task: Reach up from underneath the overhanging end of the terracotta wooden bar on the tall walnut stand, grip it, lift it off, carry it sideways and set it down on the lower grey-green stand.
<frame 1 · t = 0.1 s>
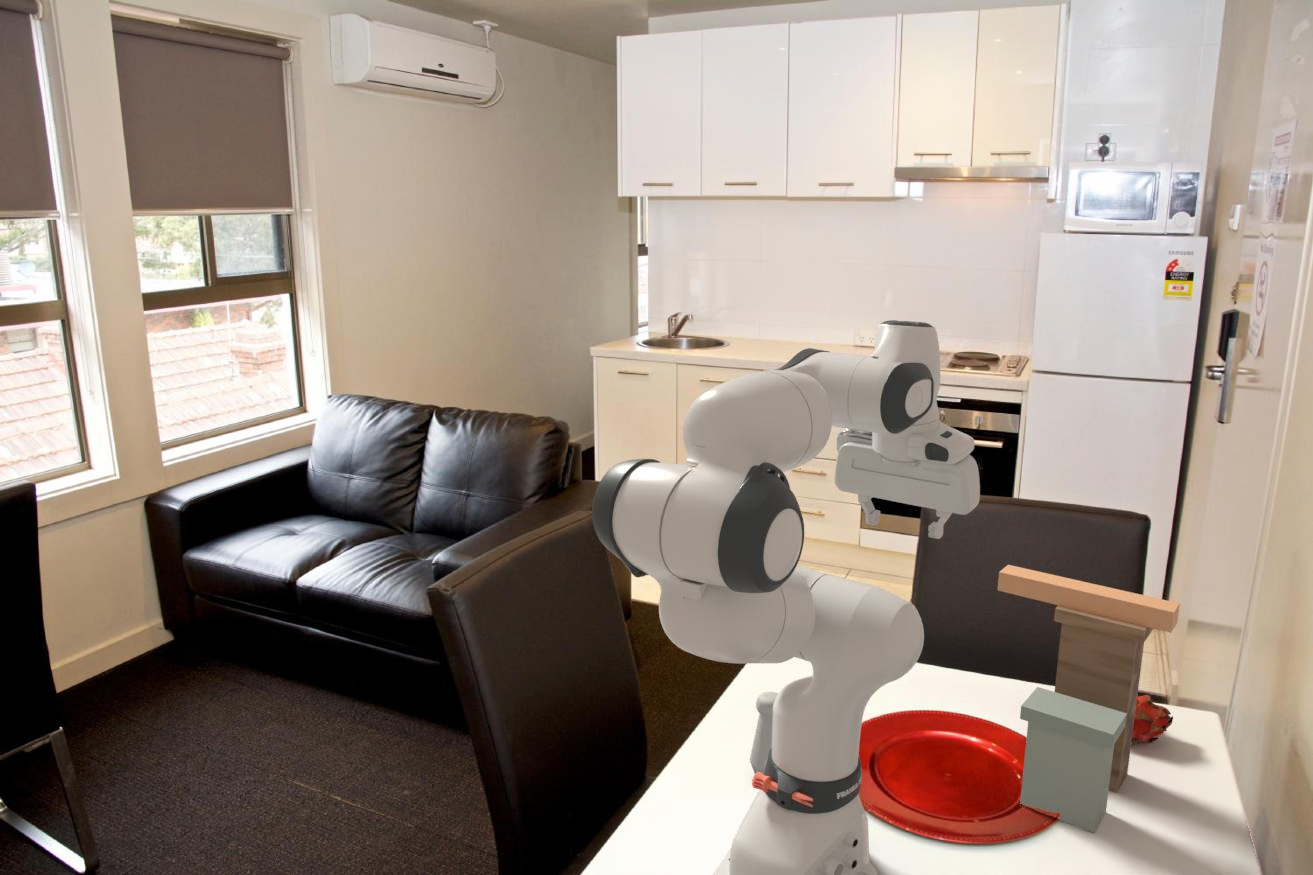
hand: (903, 529, 134), 39 cm above the table, tool pointing down, fingers open, 8 cm apart
bar: (1083, 606, 140), point 26 cm above the table, touching tall stand
tall stand: (1086, 770, 144), on the table
salt shaker: (768, 775, 143), on the table
low stand: (1062, 808, 135), on the table
dragon fruit: (1132, 737, 154), on the table
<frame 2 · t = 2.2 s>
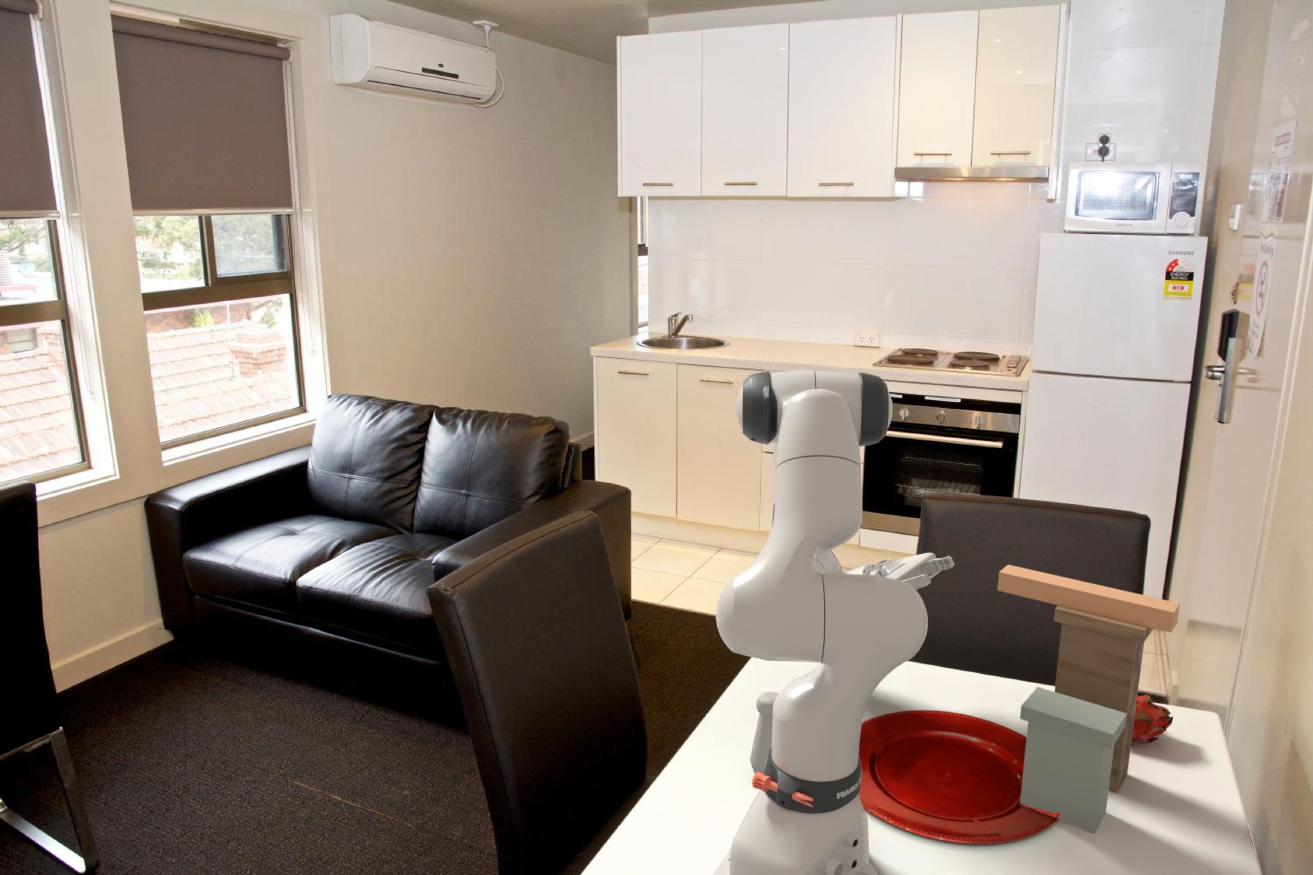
hand: (939, 570, 154), 26 cm above the table, tool pointing upward, fingers open, 8 cm apart
nothing on the table moved.
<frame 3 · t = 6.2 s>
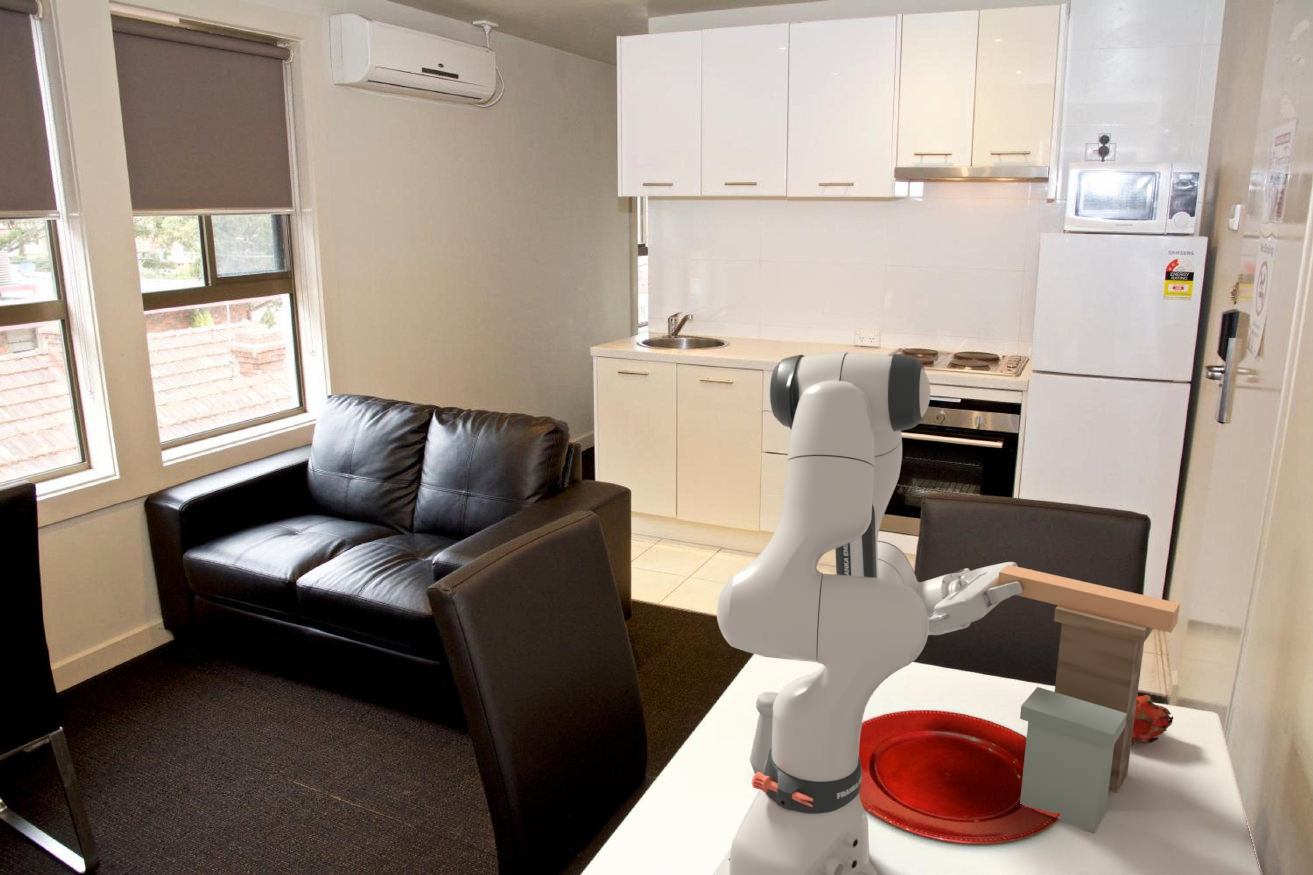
hand: (1027, 580, 145), 28 cm above the table, tool pointing upward, fingers closed on bar, 4 cm apart
bar: (1083, 606, 140), point 26 cm above the table, touching gripper, tall stand
everything else where it was.
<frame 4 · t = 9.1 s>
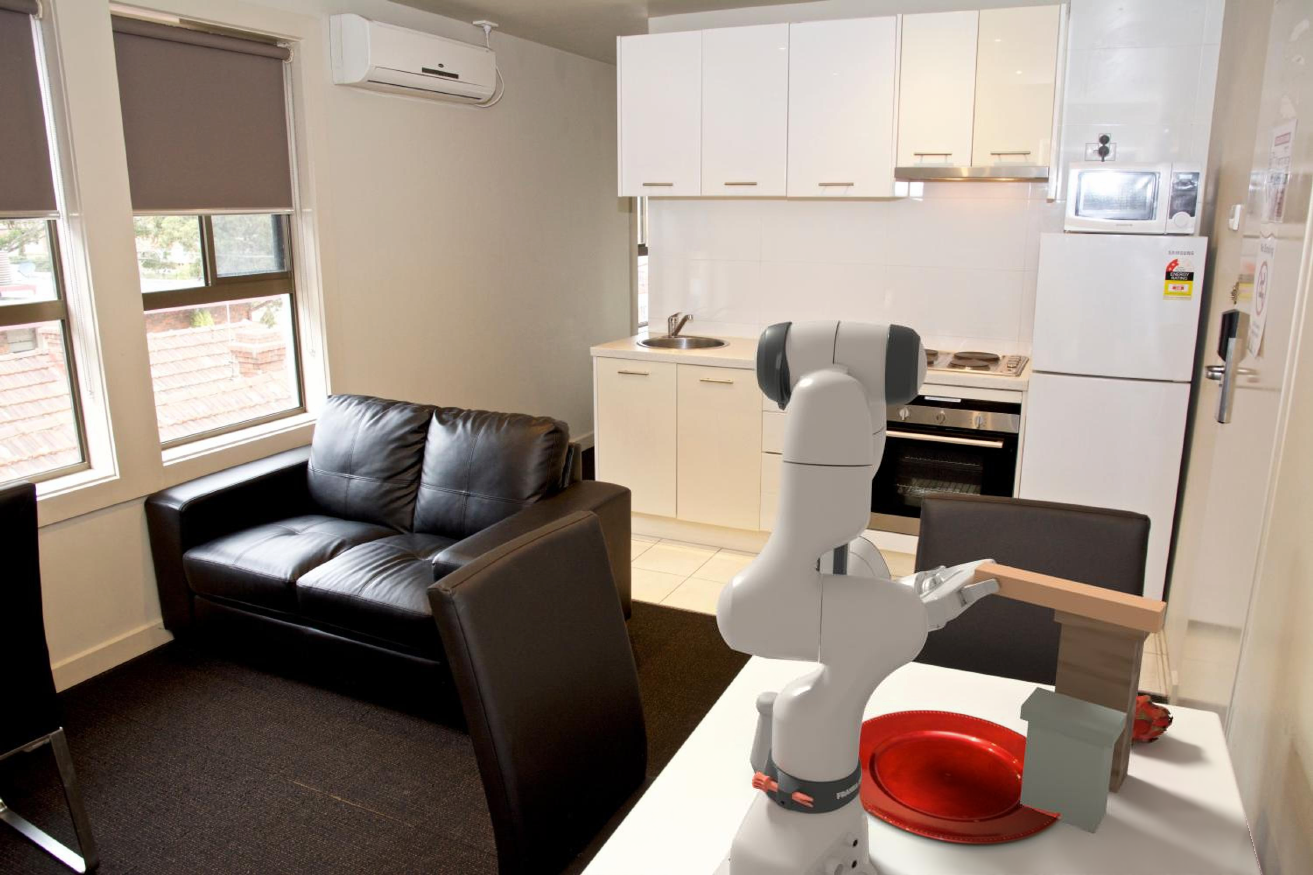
hand: (1005, 577, 135), 32 cm above the table, tool pointing upward, fingers closed on bar, 4 cm apart
bar: (1064, 605, 131), point 30 cm above the table, touching gripper
everything else where it was.
when the fingers open (19 cm above the table, at t = 12.3 s): bar drops 1 cm, resting on low stand.
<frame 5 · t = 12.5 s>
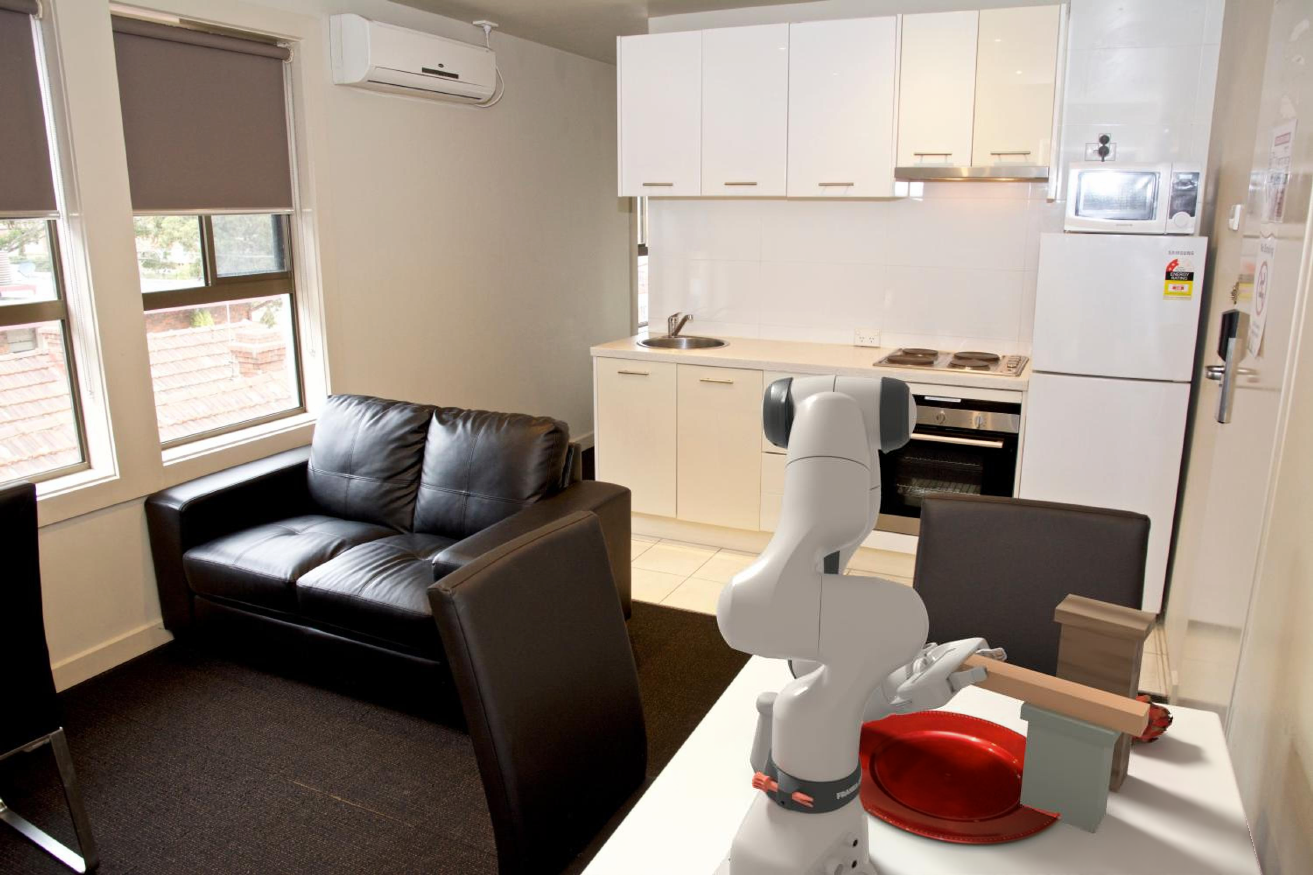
hand: (994, 663, 138), 19 cm above the table, tool pointing upward, fingers open, 6 cm apart
bar: (1050, 702, 134), point 15 cm above the table, touching low stand
everything else where it was.
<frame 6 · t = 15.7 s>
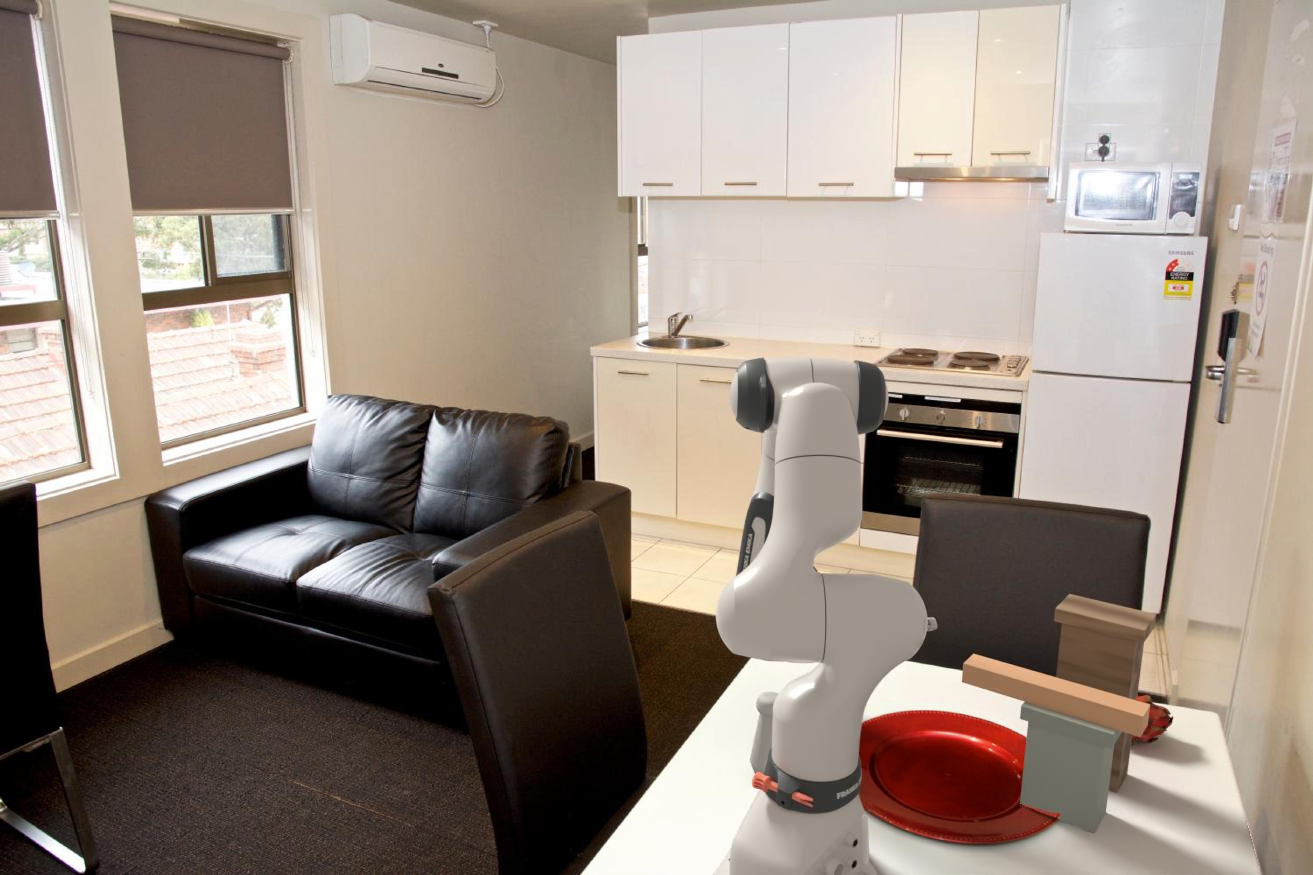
hand: (917, 631, 143), 21 cm above the table, tool pointing upward, fingers open, 8 cm apart
nothing on the table moved.
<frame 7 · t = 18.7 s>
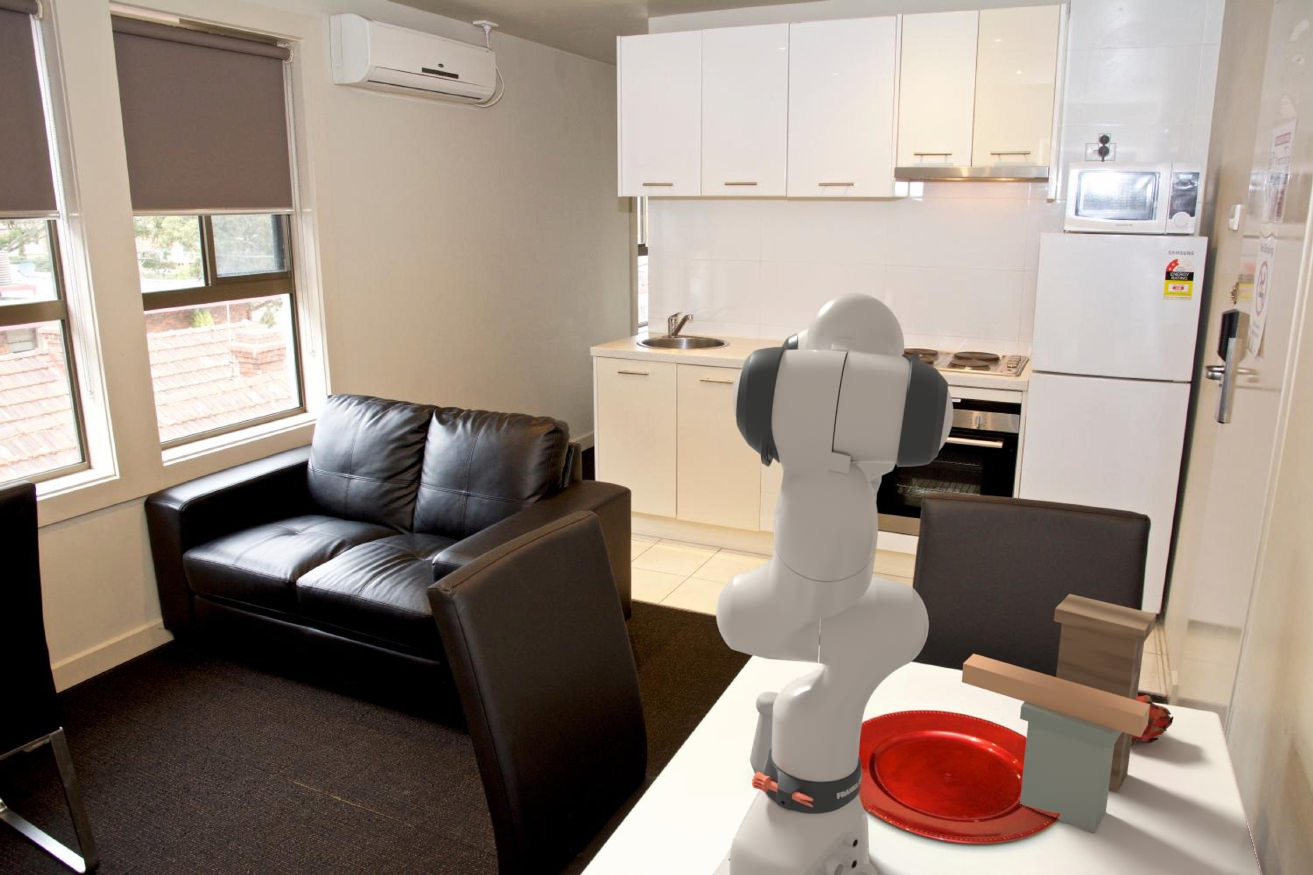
hand: (855, 510, 149), 37 cm above the table, tool pointing down, fingers open, 8 cm apart
nothing on the table moved.
at the end: bar inside the target area on the low stand (0.1 cm from its centre), point 15.5 cm above the low stand's base; bar touching low stand; the gripper is holding nothing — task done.
